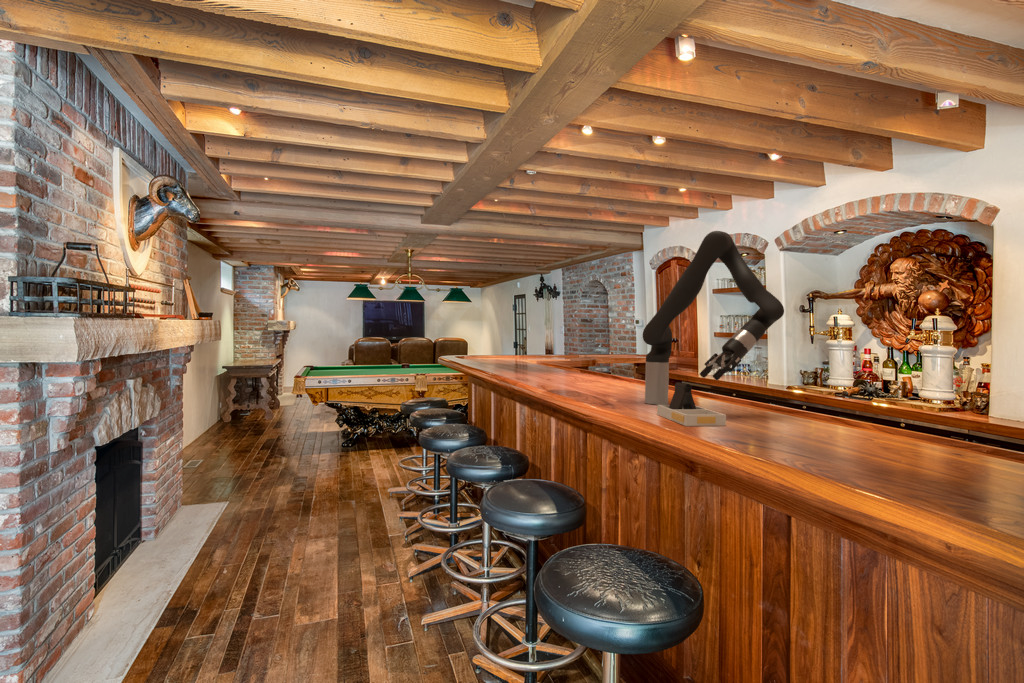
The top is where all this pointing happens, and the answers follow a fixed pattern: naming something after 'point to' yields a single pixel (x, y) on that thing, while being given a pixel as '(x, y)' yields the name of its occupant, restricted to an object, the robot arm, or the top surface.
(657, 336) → the robot arm
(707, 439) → the top surface
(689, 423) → the tray
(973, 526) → the top surface
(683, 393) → the door stopper
